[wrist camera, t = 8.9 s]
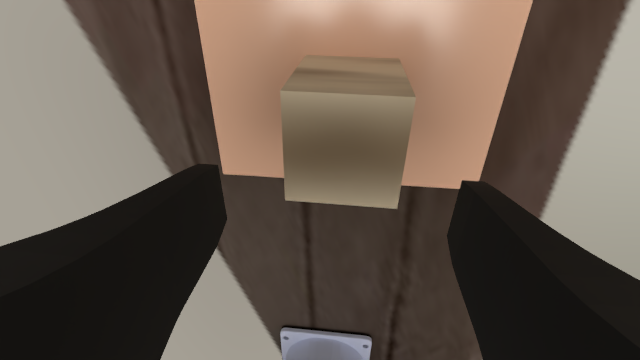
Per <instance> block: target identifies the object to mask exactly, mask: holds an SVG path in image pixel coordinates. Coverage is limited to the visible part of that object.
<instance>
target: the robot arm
mask: <svg viewBox="0 0 640 360" xmlns="http://www.w3.org/2000/svg"><path fill="white" fill-rule="evenodd" d="M226 220H227V215H226V209H225V204H224V198H223V192H222V186H221V180H220V174H219V168H218V165H209V164H197V165H194V166H192V167H189V168H187V169H185V170H183V171H181V172H179V173H177V174H175V175H173V176H171V177H169V178H167V179H165V180H163V181H161V182H159V183H157V184H155V185H153V186H151V187H149V188H147V189H145V190H143V191H141V192H139V193H137V194H135V195H133V196H131V197H129V198H127V199H124V200H122V201H120V202H118V203H116V204H114V205H112V206H110V207H107V208H105V209H104V210H101V211H98V212H96V213H94V214H91V215H89V216H87V217H84V218H82V219H79V220H76V221H74V222H71V223H69V224H66V225H63V226H61V227H58V228H56V229H53V230H50V231H47V232H44V233H41V234H38V235H34V236H31V237H28V238H25V239H22V240H19V241H16V242H13V243H10V244H7V245H4V246H1V247H0V360H160V359H161V356H162V354H163V352H164V349H165V347H166V344H167V342H168V340H169V337H170V335H171V333H172V330H173V328H174V326H175V323H176V321H177V319H178V317H179V315H180V313H181V311H182V309H183V307H184V305H185V304H186V302H187V300H188V298H189V296H190V295H191V293H192V291H193V289H194V287H195V286H196V284H197V282H198V280H199V278H200V276H201V275H202V273H203V271H204V269H205V267H206V266H207V264H208V262H209V260H210V258H211V256H212V254H213V253H214V251H215V249H216V247H217V245H218V242H219V240H220V237H221V234H222V232H223V229H224V226H225V223H226ZM447 238H448V244H449V250H450V255H451V260H452V265H453V268H454V272H455V275H456V278H457V281H458V284H459V287H460V290H461V293H462V296H463V299H464V301H465V304H466V307H467V310H468V313H469V316H470V319H471V322H472V325H473V328H474V331H475V334H476V337H477V340H478V343H479V347H480V350H481V353H482V357H483V360H640V280H638V279H636V278H634V277H632V276H631V275H629V274H627V273H625V272H623V271H622V270H620V269H618V268H616V267H614V266H612V265H610V264H609V263H607V262H605V261H603V260H602V259H600V258H598V257H597V256H595V255H593V254H591V253H590V252H588V251H587V250H585V249H583V248H582V247H580V246H579V245H577V244H576V243H574V242H572V241H571V240H569V239H568V238H566V237H564V236H563V235H561V234H560V233H558V232H557V231H555V230H554V229H552V228H551V227H549V226H548V225H546V224H545V223H544V222H542V221H541V220H539V219H538V218H536V217H535V216H534V215H532V214H531V213H529V212H528V211H527V210H525V209H524V208H522V207H521V206H520V205H518V204H517V203H515V202H514V201H513V200H511V199H510V198H508V197H507V196H506V195H504V194H503V193H501V192H500V191H498V190H497V189H496V188H494V187H493V186H491V185H489V184H488V183H486V182H483V181H467V180H462V182H461V186H460V189H459V193H458V197H457V201H456V204H455V208H454V212H453V215H452V219H451V223H450V227H449V230H448V234H447ZM280 337H281V348H282V359H283V360H369V359H370V352H371V345H372V339H371V338H370V337H369V336H364V335H354V334H345V333H335V332H325V331H316V330H306V329H296V328H287V327H285V328H282V329H281V332H280Z"/></svg>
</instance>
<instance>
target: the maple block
mask: <svg viewBox="0 0 640 360" xmlns="http://www.w3.org/2000/svg"><path fill="white" fill-rule="evenodd" d="M280 98H281V120H282V142H283V164H284V185H285V200H288V201H301V202H314V203H327V204H340V205H353V206H366V207H379V208H392V209H397V207H398V201H399V195H400V189H401V183H402V177H403V171H404V165H405V160H406V154H407V148H408V142H409V136H410V130H411V124H412V118H413V112H414V106H415V101H416V96H415V94H414V92H413V89H412V87H411V85H410V82H409V80H408V78H407V76H406V73H405V71H404V69H403V66H402V64H401V62H400V60H399V59H396V58H371V57H346V56H321V55H305V57H304V58H303V60H302V61H301V62H300V64H299V65H298V66H297V68H296V69H295V71H294V72H293V73H292V75H291V76H290V78H289V79H288V80H287V82H286V83H285V85H284V86H283V87H282V89H281V90H280Z"/></svg>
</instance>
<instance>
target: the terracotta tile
mask: <svg viewBox="0 0 640 360" xmlns="http://www.w3.org/2000/svg"><path fill="white" fill-rule="evenodd" d="M194 2H195V8H196V14H197V20H198V26H199V32H200V38H201V44H202V50H203V56H204V62H205V68H206V74H207V80H208V86H209V92H210V98H211V104H212V110H213V116H214V122H215V128H216V134H217V140H218V146H219V152H220V158H221V164H222V170H223V174H231V175H247V176H263V177H279V178H284V164H283V142H282V120H281V98H280V90H281V89H282V87H283V86H284V85H285V83H286V82H287V80H288V79H289V78H290V76H291V75H292V73H293V72H294V71H295V69H296V68H297V66H298V65H299V64H300V62H301V61H302V60H303V58H304V57H305V55H321V56H346V57H371V58H396V59H399V60H400V62H401V64H402V66H403V69H404V71H405V73H406V76H407V78H408V80H409V82H410V85H411V87H412V89H413V92H414V94H415V96H416V101H415V106H414V112H413V118H412V124H411V130H410V136H409V142H408V148H407V154H406V160H405V165H404V171H403V177H402V183H401V185H406V186H422V187H437V188H453V189H460V186H461V182H462V180H467V181H479V179H480V176H481V172H482V169H483V166H484V162H485V159H486V156H487V152H488V149H489V146H490V142H491V139H492V135H493V132H494V129H495V125H496V122H497V119H498V115H499V112H500V109H501V105H502V102H503V99H504V95H505V92H506V89H507V85H508V82H509V79H510V75H511V72H512V69H513V65H514V62H515V59H516V55H517V52H518V48H519V45H520V42H521V38H522V35H523V32H524V28H525V25H526V22H527V18H528V15H529V12H530V8H531V5H532V2H533V0H194Z"/></svg>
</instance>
